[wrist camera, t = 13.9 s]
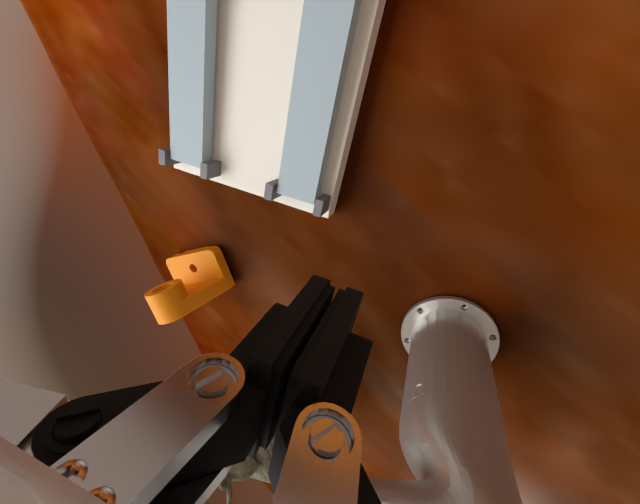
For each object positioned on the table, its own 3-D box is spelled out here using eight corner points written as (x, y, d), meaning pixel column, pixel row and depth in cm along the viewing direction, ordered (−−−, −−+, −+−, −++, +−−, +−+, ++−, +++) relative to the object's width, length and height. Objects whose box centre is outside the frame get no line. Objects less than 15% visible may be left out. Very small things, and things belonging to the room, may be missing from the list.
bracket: (221, 242, 52) (167, 274, 42) (238, 282, 54) (189, 321, 44) (175, 253, 57) (115, 284, 46) (192, 289, 59) (138, 326, 48)
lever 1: (211, 166, 43) (201, 168, 42) (181, 156, 44) (170, 158, 43) (219, -43, 33) (206, -51, 31) (179, -49, 34) (165, -57, 32)
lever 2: (319, 200, 40) (313, 205, 38) (283, 189, 41) (276, 193, 39) (365, -20, 30) (360, -28, 28) (316, -28, 31) (309, -36, 29)
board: (334, 212, 43) (319, 225, 38) (188, 164, 49) (157, 170, 43) (399, -56, 31) (390, -90, 26) (192, -82, 36) (150, -115, 31)
